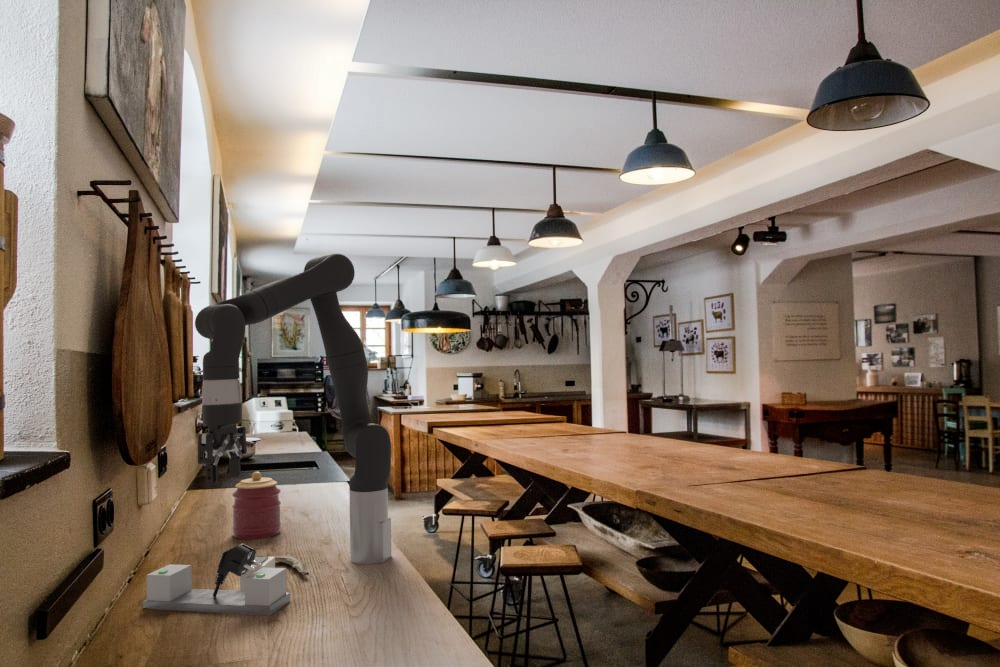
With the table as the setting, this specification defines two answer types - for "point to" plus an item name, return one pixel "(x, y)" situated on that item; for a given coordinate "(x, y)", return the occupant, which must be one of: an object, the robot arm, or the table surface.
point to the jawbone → (291, 562)
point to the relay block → (257, 568)
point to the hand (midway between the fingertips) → (224, 480)
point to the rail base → (216, 603)
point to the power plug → (235, 563)
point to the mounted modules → (177, 581)
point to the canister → (256, 508)
